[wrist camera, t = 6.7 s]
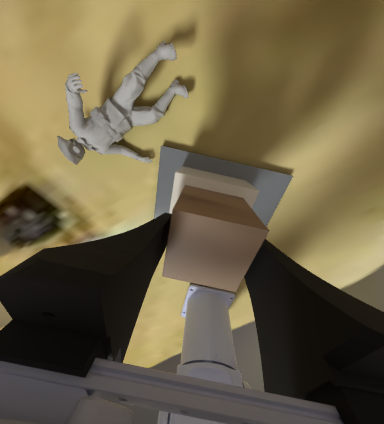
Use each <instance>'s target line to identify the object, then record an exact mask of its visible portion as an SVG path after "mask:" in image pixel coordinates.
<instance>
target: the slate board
mask: <svg viewBox="0 0 384 424" xmlns="http://www.w3.org/2000/svg"><path fill="white" fill-rule="evenodd" d="M182 166H184V167H189V168H193V169H197V170H202V171H206V172H211V173H215V174H219V175H224V176H228V177H233V178H237V179H241V180H246V181H247V182H248V183H250V184H251V185H252V186H253V187H255V188H256V189H257V190H259V193H258V195H257V198H256V200H255V202H254V204H253V207H252V210H253V211H254V212H255V213H256V215H257V216H258V217H259V218H260V220H261V221H262V222H263V223H264V225H265V226H267V224H268V222H269V221H270V219H271V217H272V215H273V213H274V211H275V209H276V207H277V205H278V204H279V202H280V200H281V198H282V196H283V194H284V192H285V190H286V188H287V187H288V185H289V183H290V181H291V179H292V177H293V176H292V175H288V174H284V173H279V172H275V171H271V170H266V169H262V168H258V167H253V166H249V165H245V164H240V163H236V162H232V161H227V160H223V159H218V158H214V157H210V156H205V155H201V154H197V153H192V152H188V151H184V150H179V149H175V148H170V147H166V146H161V151H160V162H159V173H158V183H157V194H156V204H155V215H154V219H155V218H156V217H158V216H160V215H162V214H163V213H165V212H166V213H169V211H170V204H171V197H172V191H173V184H174V177H175V172H176V171H177V170H178V169H180V168H181V167H182Z"/></svg>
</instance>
